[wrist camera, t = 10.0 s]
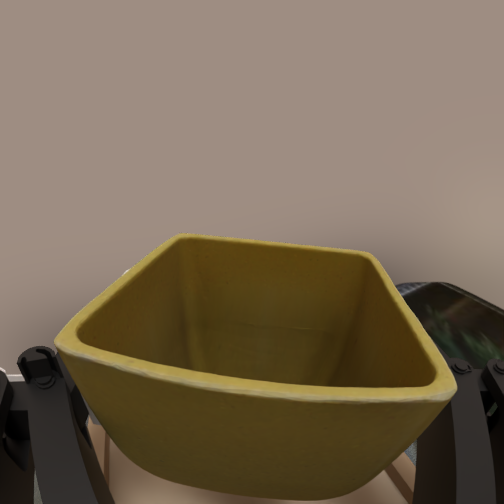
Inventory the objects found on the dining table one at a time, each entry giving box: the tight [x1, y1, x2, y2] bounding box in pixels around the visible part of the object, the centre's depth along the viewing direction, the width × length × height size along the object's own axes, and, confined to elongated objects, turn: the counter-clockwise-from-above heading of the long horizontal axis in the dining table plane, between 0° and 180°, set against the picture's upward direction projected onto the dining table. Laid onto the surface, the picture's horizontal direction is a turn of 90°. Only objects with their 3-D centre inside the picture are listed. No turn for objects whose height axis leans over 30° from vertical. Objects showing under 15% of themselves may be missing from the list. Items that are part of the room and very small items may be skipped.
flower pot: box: [54, 233, 457, 501], centre depth 10 cm, size 9×9×9 cm
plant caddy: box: [88, 416, 416, 504], centre depth 13 cm, size 18×18×6 cm
